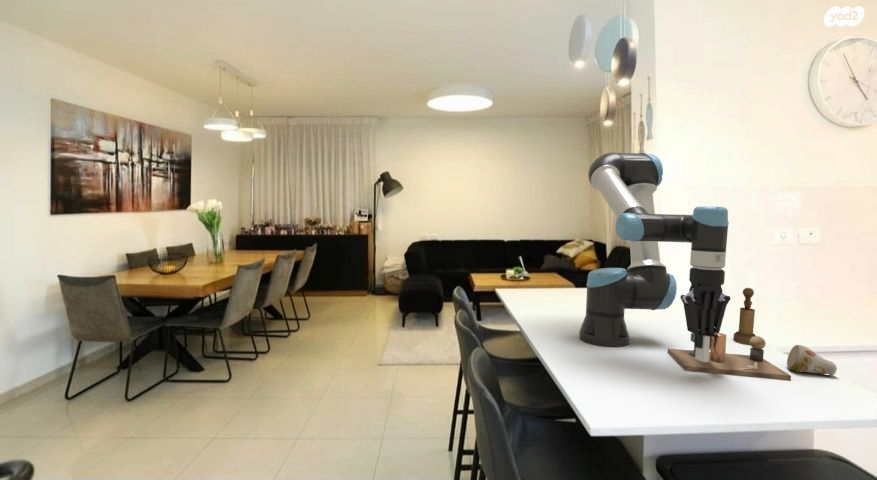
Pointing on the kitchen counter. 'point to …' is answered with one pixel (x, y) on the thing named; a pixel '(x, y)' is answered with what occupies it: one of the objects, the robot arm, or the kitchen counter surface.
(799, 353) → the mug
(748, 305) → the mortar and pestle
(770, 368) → the wooden board
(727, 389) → the kitchen counter surface
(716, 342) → the lever
